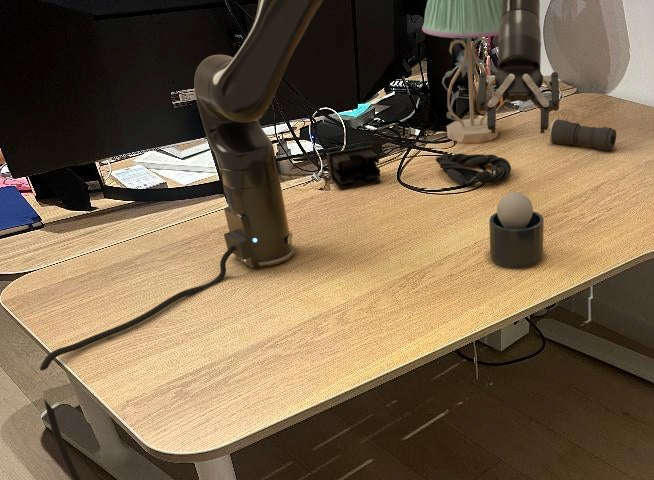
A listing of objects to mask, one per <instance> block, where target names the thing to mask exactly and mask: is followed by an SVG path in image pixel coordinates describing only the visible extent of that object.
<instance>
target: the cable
mask: <svg viewBox="0 0 654 480" xmlns="http://www.w3.org/2000/svg"><path fill="white" fill-rule="evenodd" d="M435 162H436V163H437V164H438V165H439V167H440V169H442V171H443V173H444V174H445V175H446V176H447V178H449V179H450V180H451V181H452V182H454V183H455V184H458V185H459V186H461V187H465V186H471V187H477V183H480V184H487V185H488V184H489V185H497V184H500V183H503V182H505V181H506V180H507V179H508V177H510V174H511V172H512V166H511V164H510V162H509V161H508V160H507V159H506V158H504V157H500V156H498V155H496V154H481V153H479V154H478V153H477V154H466V153H456V154H447V153H444V154H442V155H440V156H436V158H435ZM476 165H480V166H483V167H485V166H488V165H491V168H490V169H491V171H489V170H487V169H486V170H481V171H480V170H477V169H473V168H470V167H473V166H476ZM499 170H500V171H499Z"/></svg>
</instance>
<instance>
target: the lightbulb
mask: <svg viewBox="0 0 654 480" xmlns="http://www.w3.org/2000/svg"><path fill="white" fill-rule="evenodd" d="M533 211H534V207H533V204H532V201H531V200H530V198H529V197H528V196H527V195H526V194H524V193H522V192H519V191H510V192H508V193H506V194H505V195H503V196H501V198H500V199H499V201H498V203H497V207H496V213H497V215H498V218H499V220H500V222H501V224H502V225H503V227H504V228H507V229H526V227H527V225H528V223H529V221H530V219H531V217H532V214H533Z"/></svg>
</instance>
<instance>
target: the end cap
mask: <svg viewBox="0 0 654 480" xmlns="http://www.w3.org/2000/svg"><path fill="white" fill-rule="evenodd" d="M326 164H327V169H328V173H329V176H330V177H331V180H332V182H334V183H335V185H336V187H338V189H339V190H343V191H344V190H348V189H354V188H359V187H364V186H369V185H376V184H380V183H381V179H380V176H381V172H382V170H381V168H380V167H379V166H377V164H380V159H379V156H378V155H377V154H376V150H375V146H373V145H367V146H361V147H355V148H350V149H349V148H348V149H342V150H337V151H331V152H327V154H326Z"/></svg>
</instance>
